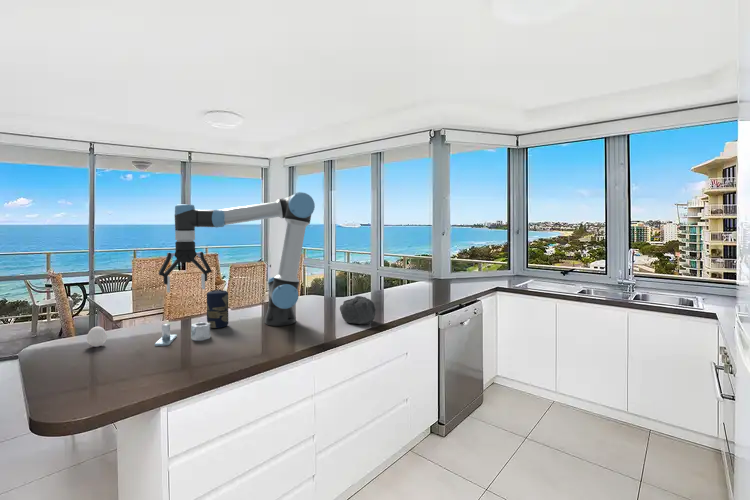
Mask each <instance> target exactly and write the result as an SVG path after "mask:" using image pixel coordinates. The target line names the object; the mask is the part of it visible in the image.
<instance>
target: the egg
mask: <svg viewBox="0 0 750 500" xmlns="http://www.w3.org/2000/svg"><path fill="white" fill-rule="evenodd" d="M107 339H108V334H107V332H106V329H104V327H101V326H94V327H92V328H91V329H90V330H89V331H88V333H87V335H86V342H87V344H89V345H90V346H92V347H94V348H95V347H96V348H98V347H101V346H102V345H104V344H105V343H106V341H107Z"/></svg>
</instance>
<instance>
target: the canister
mask: <svg viewBox="0 0 750 500" xmlns="http://www.w3.org/2000/svg"><path fill="white" fill-rule="evenodd" d="M206 322H208V323H210V328H212V329H221V328H225V327H227V326H228V325H229V292H228V290H222V289H219V288H218V289H217V288H216V289H213V290H211V291H208V292H206Z"/></svg>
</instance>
